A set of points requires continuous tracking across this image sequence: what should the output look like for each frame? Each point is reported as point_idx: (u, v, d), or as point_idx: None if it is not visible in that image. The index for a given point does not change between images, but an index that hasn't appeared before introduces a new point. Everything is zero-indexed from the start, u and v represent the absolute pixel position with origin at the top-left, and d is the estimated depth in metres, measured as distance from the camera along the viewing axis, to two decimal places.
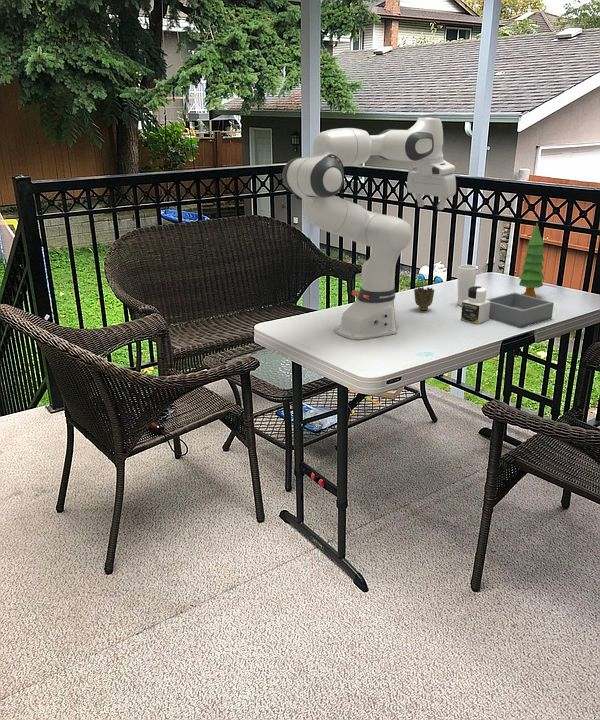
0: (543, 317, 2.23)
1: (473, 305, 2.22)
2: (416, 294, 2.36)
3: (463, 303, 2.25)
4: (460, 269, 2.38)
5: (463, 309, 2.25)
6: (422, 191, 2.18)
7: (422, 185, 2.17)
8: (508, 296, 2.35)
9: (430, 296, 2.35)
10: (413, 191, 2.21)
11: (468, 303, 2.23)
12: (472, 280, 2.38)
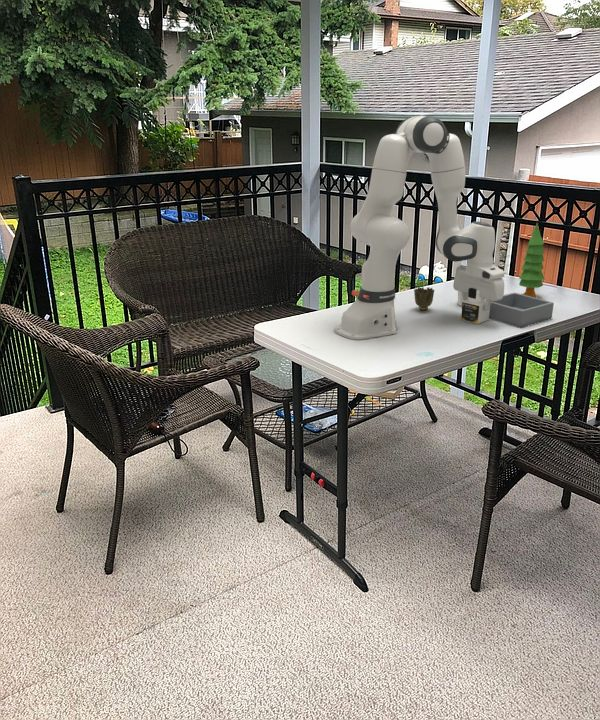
0: (543, 317, 2.23)
1: (473, 305, 2.22)
2: (416, 294, 2.36)
3: (463, 303, 2.25)
4: None
5: (463, 309, 2.25)
6: None
7: (470, 285, 2.23)
8: (508, 296, 2.35)
9: (430, 296, 2.35)
10: (459, 289, 2.28)
11: (468, 303, 2.23)
12: None
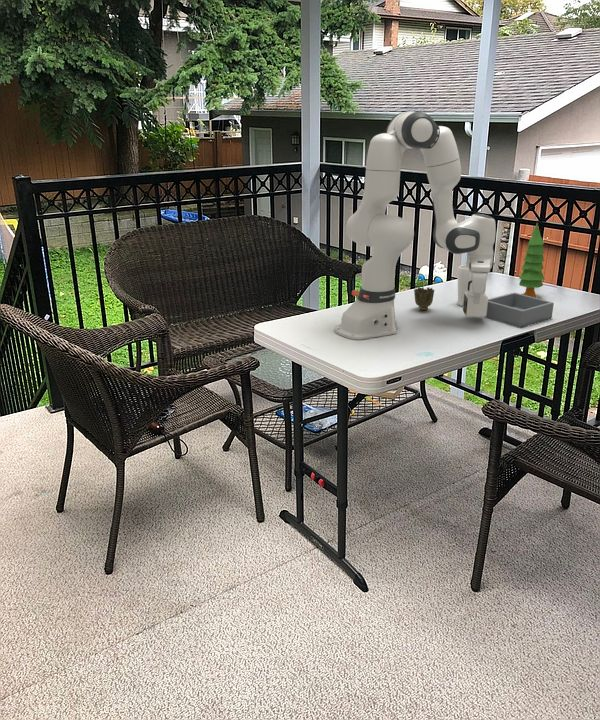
0: (543, 317, 2.23)
1: (466, 297, 2.23)
2: (416, 294, 2.36)
3: (464, 294, 2.27)
4: (460, 269, 2.38)
5: None
6: None
7: None
8: (508, 296, 2.35)
9: (430, 296, 2.35)
10: None
11: (465, 294, 2.25)
12: None
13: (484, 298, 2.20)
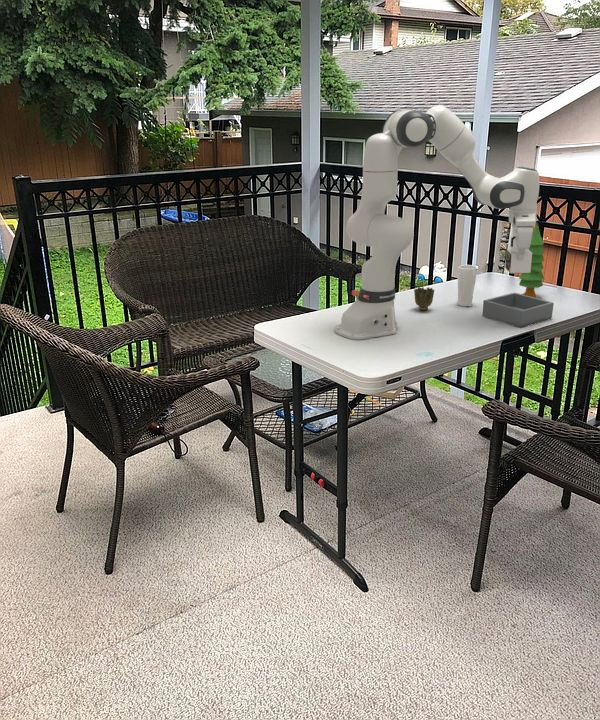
0: (543, 317, 2.23)
1: (509, 253, 2.19)
2: (416, 294, 2.36)
3: None
4: (460, 269, 2.38)
5: (506, 257, 2.24)
6: None
7: (514, 232, 2.20)
8: (508, 296, 2.35)
9: (430, 296, 2.35)
10: None
11: (508, 251, 2.21)
12: (472, 280, 2.38)
13: (528, 254, 2.16)
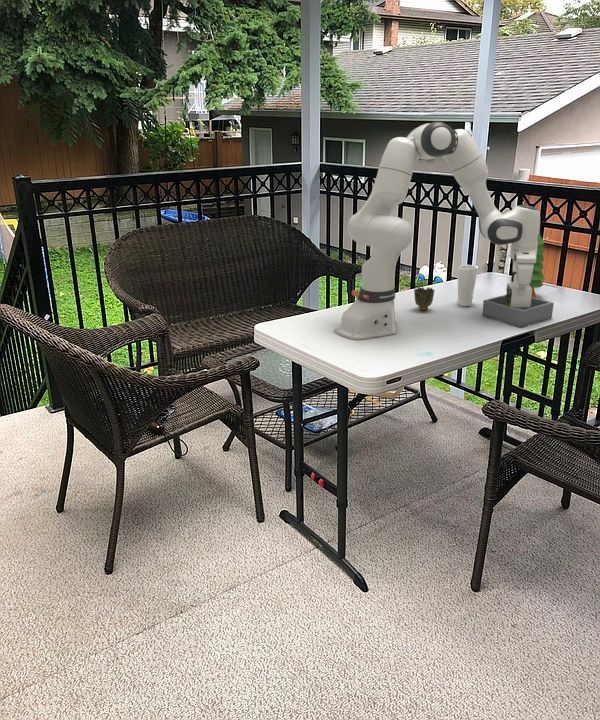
0: (543, 317, 2.23)
1: (510, 288, 2.24)
2: (416, 294, 2.36)
3: (507, 285, 2.28)
4: (460, 269, 2.38)
5: None
6: None
7: (515, 268, 2.25)
8: None
9: (430, 296, 2.35)
10: None
11: (508, 286, 2.26)
12: (472, 280, 2.38)
13: (528, 289, 2.21)
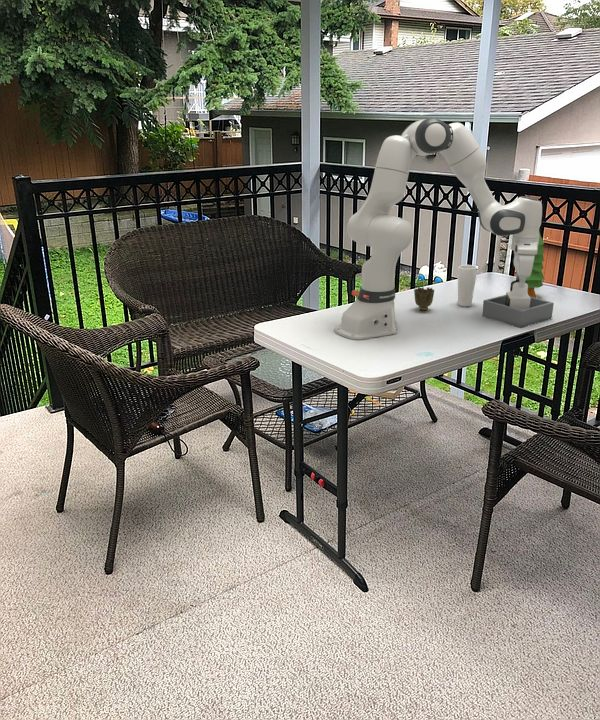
0: (543, 317, 2.23)
1: (508, 297, 2.26)
2: (416, 294, 2.36)
3: (506, 294, 2.30)
4: (460, 269, 2.38)
5: None
6: (515, 266, 2.24)
7: (516, 260, 2.23)
8: None
9: (430, 296, 2.35)
10: (514, 264, 2.28)
11: (507, 294, 2.28)
12: (472, 280, 2.38)
13: (527, 299, 2.23)
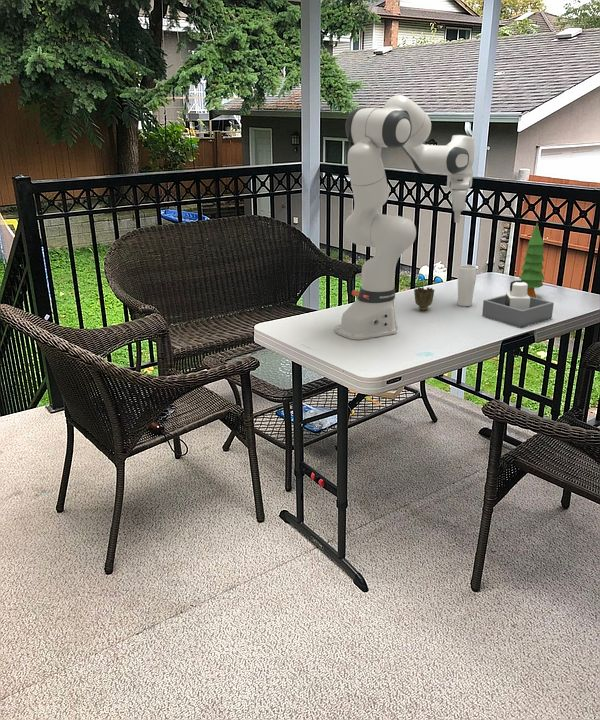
0: (543, 317, 2.23)
1: (508, 297, 2.26)
2: (416, 294, 2.36)
3: (506, 294, 2.30)
4: (460, 269, 2.38)
5: (505, 300, 2.31)
6: None
7: None
8: None
9: (430, 296, 2.35)
10: None
11: (507, 295, 2.28)
12: (472, 280, 2.38)
13: (526, 298, 2.23)
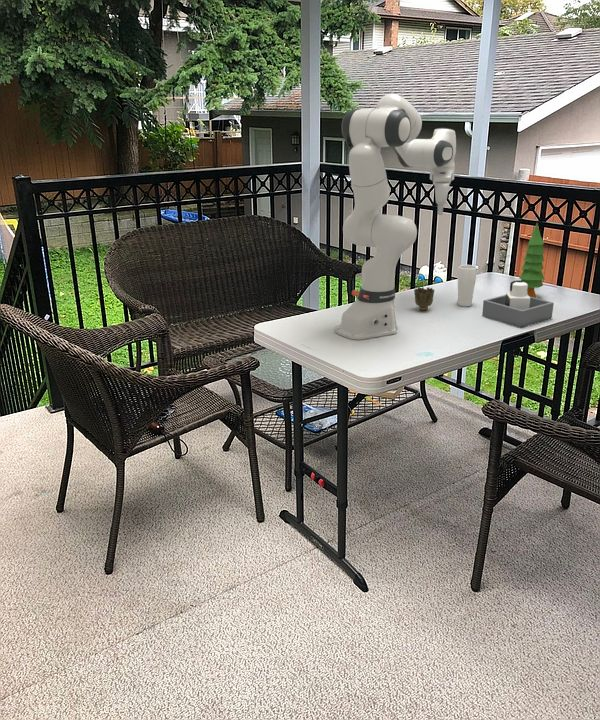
0: (543, 317, 2.23)
1: (508, 297, 2.26)
2: (416, 294, 2.36)
3: (506, 294, 2.30)
4: (460, 269, 2.38)
5: (505, 300, 2.31)
6: None
7: None
8: None
9: (430, 296, 2.35)
10: None
11: (507, 295, 2.28)
12: (472, 280, 2.38)
13: (526, 298, 2.23)
